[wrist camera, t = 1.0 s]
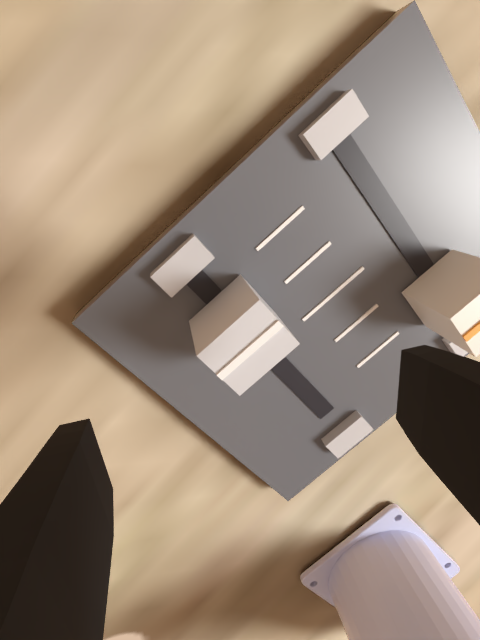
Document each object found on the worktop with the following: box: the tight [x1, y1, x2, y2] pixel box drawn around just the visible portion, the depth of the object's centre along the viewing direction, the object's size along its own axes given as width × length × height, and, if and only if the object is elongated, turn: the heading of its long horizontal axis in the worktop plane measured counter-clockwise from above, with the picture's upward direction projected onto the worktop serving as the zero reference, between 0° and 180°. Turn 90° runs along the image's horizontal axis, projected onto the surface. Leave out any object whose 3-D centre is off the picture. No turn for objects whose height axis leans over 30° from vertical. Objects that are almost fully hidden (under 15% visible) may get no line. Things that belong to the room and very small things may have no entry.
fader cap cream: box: [401, 249, 480, 357], centre depth 18 cm, size 2×3×4 cm
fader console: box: [72, 0, 480, 501], centre depth 19 cm, size 15×18×2 cm
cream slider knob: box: [189, 274, 300, 396], centre depth 17 cm, size 2×3×4 cm
